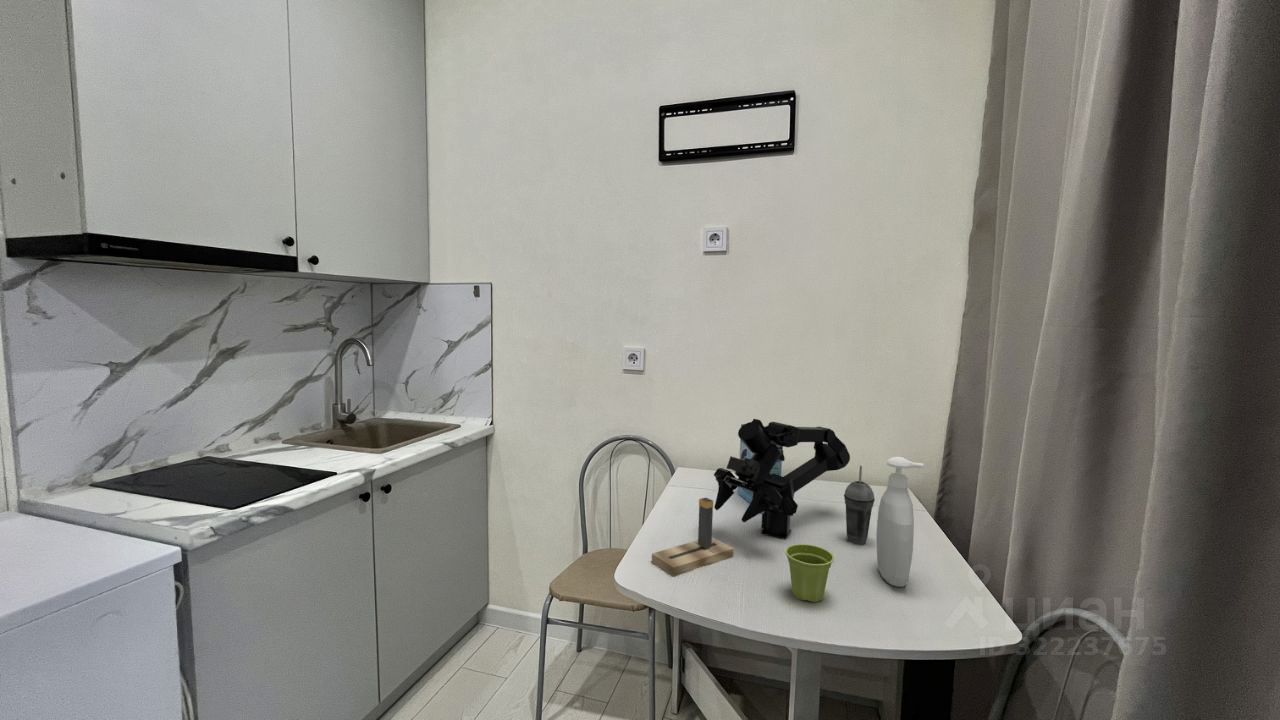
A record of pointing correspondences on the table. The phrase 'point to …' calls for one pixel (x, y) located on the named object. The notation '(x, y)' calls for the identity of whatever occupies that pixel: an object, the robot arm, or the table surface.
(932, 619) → the table surface
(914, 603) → the table surface
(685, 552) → the fader track
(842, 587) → the table surface
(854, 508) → the beverage cup
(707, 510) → the fader tab
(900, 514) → the soap bottle
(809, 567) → the plant pot
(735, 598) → the table surface
